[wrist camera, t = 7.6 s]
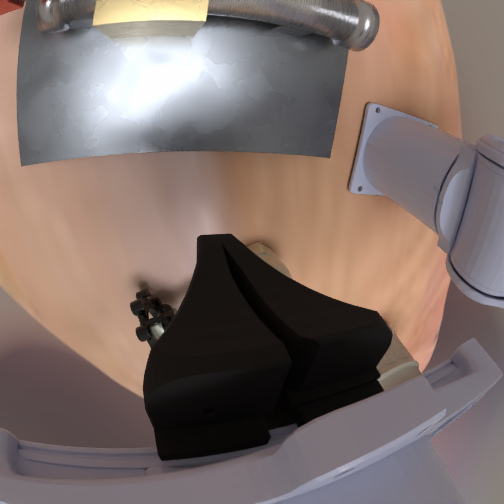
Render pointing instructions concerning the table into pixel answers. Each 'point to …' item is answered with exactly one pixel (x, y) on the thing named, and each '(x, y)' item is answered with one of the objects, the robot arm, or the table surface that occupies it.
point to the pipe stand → (184, 75)
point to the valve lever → (10, 5)
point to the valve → (165, 312)
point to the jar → (396, 365)
